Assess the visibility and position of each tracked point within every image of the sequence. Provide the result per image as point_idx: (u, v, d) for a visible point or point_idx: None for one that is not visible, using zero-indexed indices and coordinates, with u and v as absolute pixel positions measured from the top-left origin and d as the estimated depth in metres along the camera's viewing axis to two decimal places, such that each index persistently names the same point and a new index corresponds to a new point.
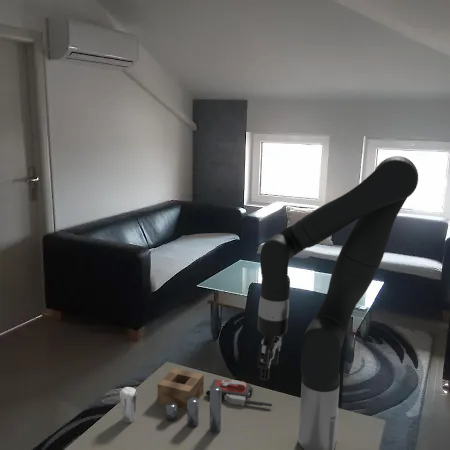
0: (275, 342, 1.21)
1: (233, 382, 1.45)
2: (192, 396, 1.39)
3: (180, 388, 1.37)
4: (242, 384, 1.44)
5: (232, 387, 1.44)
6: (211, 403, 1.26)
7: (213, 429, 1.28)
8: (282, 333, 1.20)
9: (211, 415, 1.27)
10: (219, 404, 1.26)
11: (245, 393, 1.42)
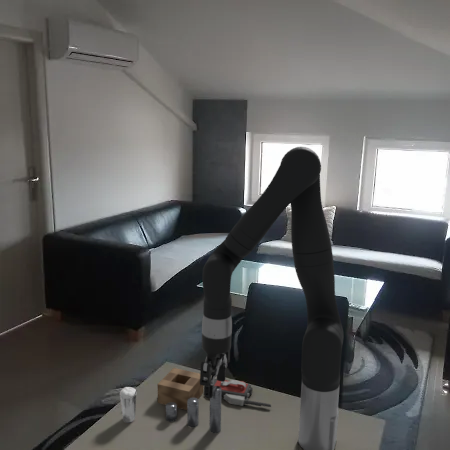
0: (219, 359, 1.23)
1: (233, 382, 1.45)
2: (192, 396, 1.39)
3: (180, 388, 1.37)
4: (242, 384, 1.44)
5: (232, 387, 1.44)
6: (211, 403, 1.26)
7: (213, 429, 1.28)
8: (225, 350, 1.21)
9: (211, 415, 1.27)
10: (219, 404, 1.26)
11: (244, 393, 1.42)
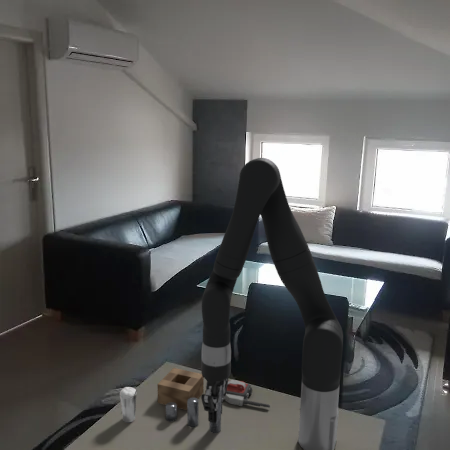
0: (218, 386, 1.24)
1: (232, 382, 1.45)
2: (192, 396, 1.39)
3: (180, 388, 1.37)
4: (241, 384, 1.44)
5: (232, 387, 1.45)
6: None
7: (213, 429, 1.28)
8: (224, 377, 1.23)
9: None
10: (219, 404, 1.26)
11: (244, 393, 1.42)
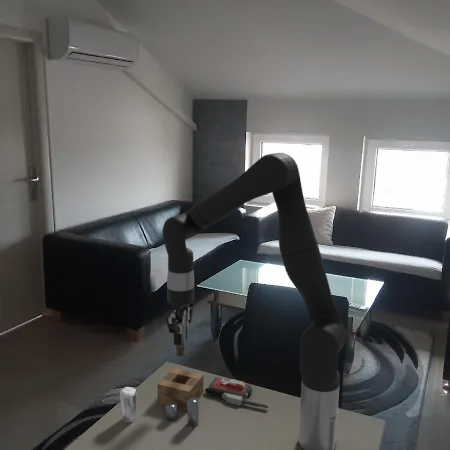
0: (182, 311, 1.35)
1: (232, 381, 1.45)
2: (192, 396, 1.39)
3: (180, 388, 1.37)
4: (241, 384, 1.44)
5: (231, 386, 1.45)
6: None
7: (178, 352, 1.39)
8: (187, 302, 1.34)
9: None
10: (183, 328, 1.37)
11: (242, 393, 1.42)
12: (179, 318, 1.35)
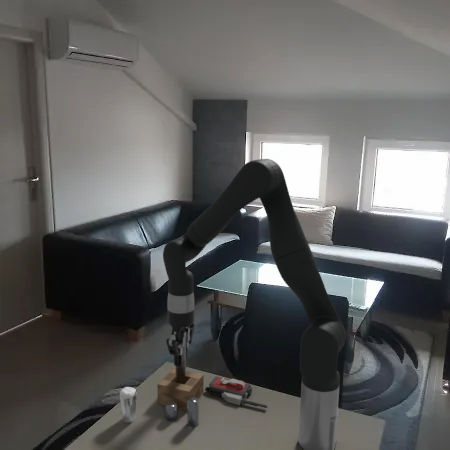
0: (183, 332, 1.37)
1: (232, 381, 1.45)
2: (192, 396, 1.39)
3: (180, 388, 1.37)
4: (240, 383, 1.44)
5: (231, 386, 1.45)
6: None
7: (178, 373, 1.40)
8: (188, 324, 1.35)
9: None
10: (184, 349, 1.39)
11: (242, 392, 1.42)
12: (179, 340, 1.36)
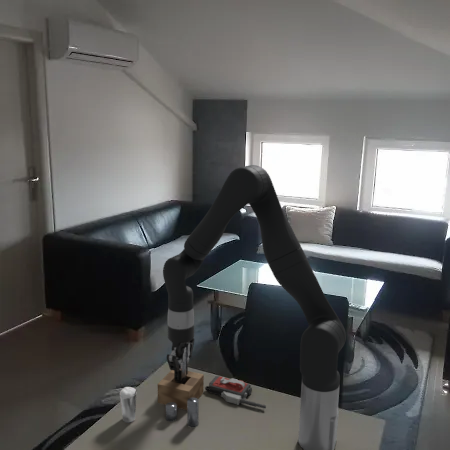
0: (183, 348, 1.38)
1: (232, 380, 1.46)
2: (192, 396, 1.39)
3: (180, 388, 1.37)
4: (240, 383, 1.44)
5: (231, 385, 1.45)
6: None
7: None
8: (187, 340, 1.36)
9: None
10: (184, 364, 1.40)
11: (241, 392, 1.42)
12: (179, 355, 1.38)
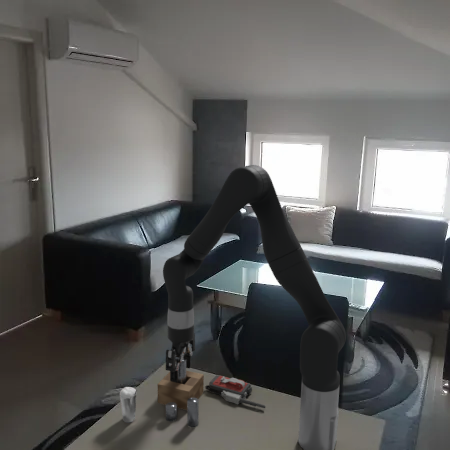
0: (183, 348, 1.38)
1: (232, 380, 1.46)
2: (192, 396, 1.39)
3: (180, 388, 1.37)
4: (240, 383, 1.44)
5: (231, 385, 1.46)
6: None
7: None
8: (187, 339, 1.36)
9: None
10: (184, 373, 1.41)
11: (241, 392, 1.42)
12: (179, 355, 1.38)
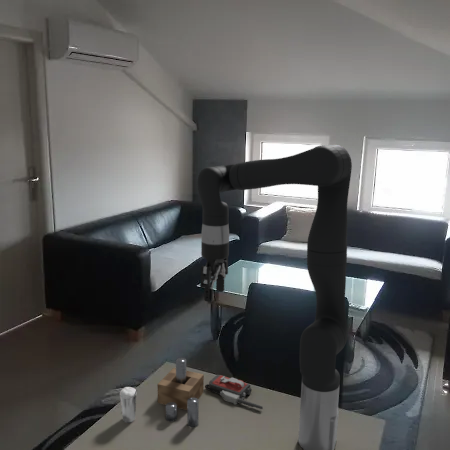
0: (217, 266, 1.32)
1: (231, 380, 1.46)
2: (192, 396, 1.39)
3: (180, 388, 1.37)
4: (239, 383, 1.45)
5: (230, 385, 1.46)
6: (177, 373, 1.41)
7: None
8: (223, 256, 1.30)
9: None
10: (184, 374, 1.41)
11: (240, 392, 1.42)
12: (214, 273, 1.32)
